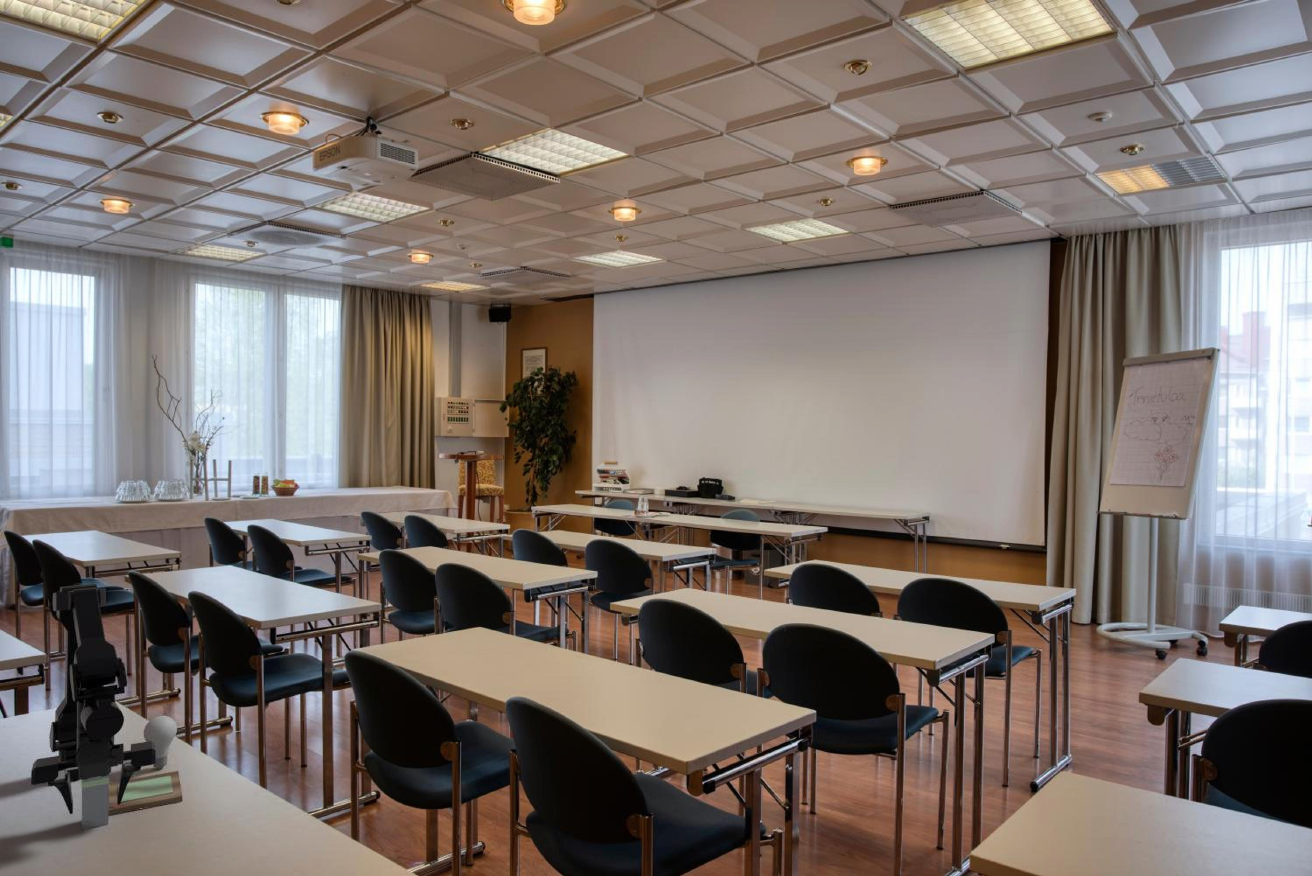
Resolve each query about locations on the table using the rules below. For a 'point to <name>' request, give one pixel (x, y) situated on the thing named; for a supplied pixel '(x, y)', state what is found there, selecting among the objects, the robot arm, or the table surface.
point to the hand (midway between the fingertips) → (95, 808)
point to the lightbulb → (161, 737)
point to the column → (95, 802)
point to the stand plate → (146, 792)
